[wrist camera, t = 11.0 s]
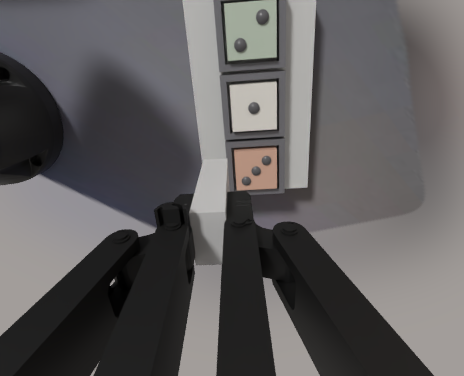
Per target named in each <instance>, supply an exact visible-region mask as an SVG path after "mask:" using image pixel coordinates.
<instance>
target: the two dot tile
mask: <svg viewBox="0 0 464 376" xmlns="http://www.w3.org/2000/svg"><path fill="white" fill-rule="evenodd" d="M224 12H225V27H226V41H227V56H228V61H235V60H248V59H261V58H274V57H277V8H276V0H260V1H248V2H237V3H225V4H224Z"/></svg>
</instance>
